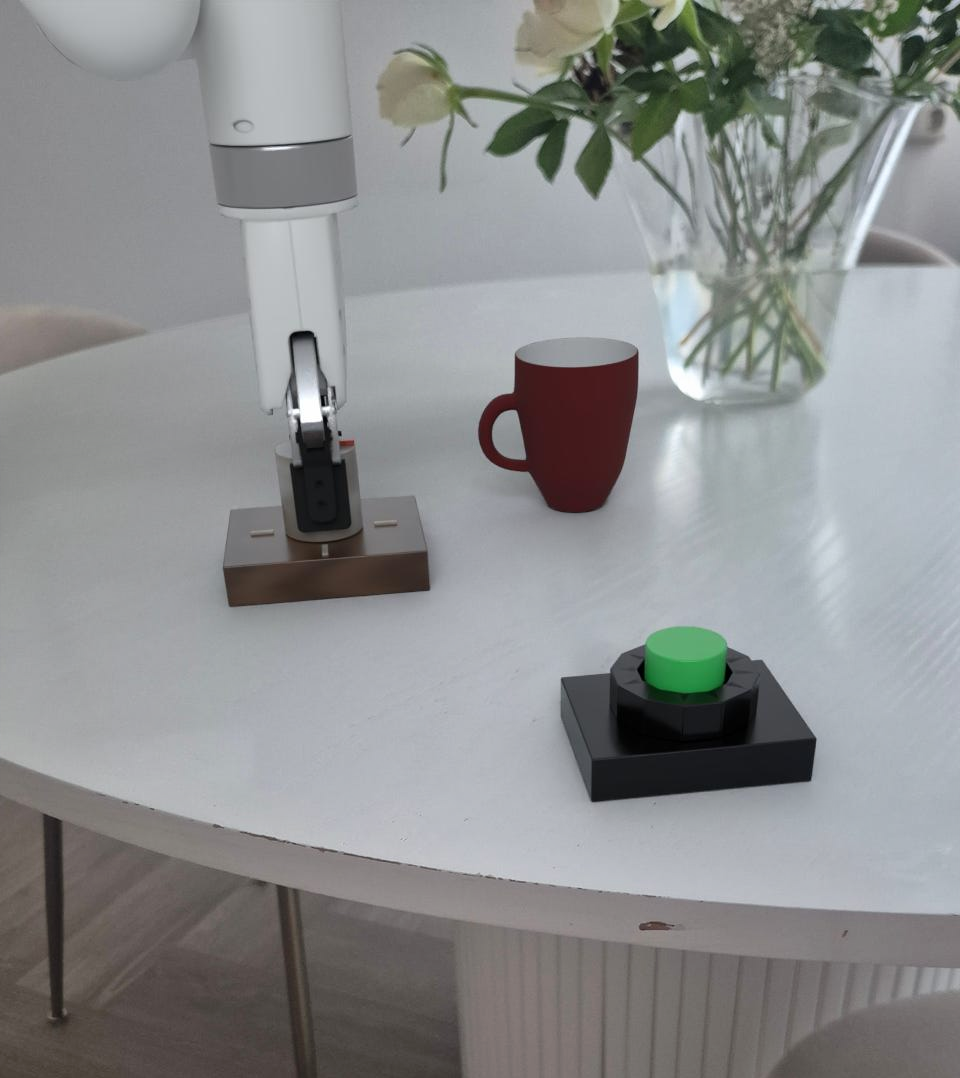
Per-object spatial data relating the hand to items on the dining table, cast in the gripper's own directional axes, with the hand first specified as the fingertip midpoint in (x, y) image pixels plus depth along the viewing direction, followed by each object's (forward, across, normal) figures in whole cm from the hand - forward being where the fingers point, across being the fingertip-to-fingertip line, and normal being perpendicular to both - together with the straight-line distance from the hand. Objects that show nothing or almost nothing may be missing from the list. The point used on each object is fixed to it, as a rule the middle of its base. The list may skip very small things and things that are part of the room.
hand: (323, 509), depth 77 cm
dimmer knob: (+1, 0, 0) cm, 1 cm away
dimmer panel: (+4, 0, 0) cm, 4 cm away
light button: (0, +26, +16) cm, 30 cm away
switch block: (+4, +26, +16) cm, 31 cm away
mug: (+4, -8, +16) cm, 18 cm away
